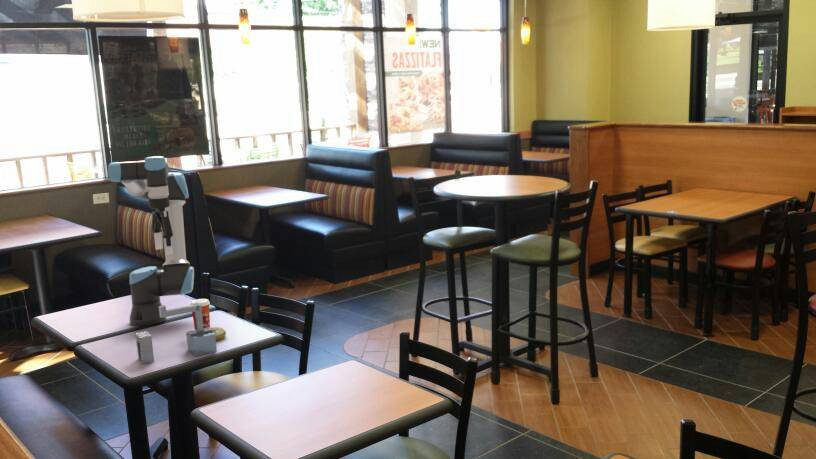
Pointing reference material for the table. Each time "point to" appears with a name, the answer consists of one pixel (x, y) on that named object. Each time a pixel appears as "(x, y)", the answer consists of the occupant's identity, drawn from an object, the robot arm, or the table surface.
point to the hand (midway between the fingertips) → (164, 251)
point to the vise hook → (197, 339)
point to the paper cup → (205, 312)
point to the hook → (144, 347)
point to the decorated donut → (219, 333)
